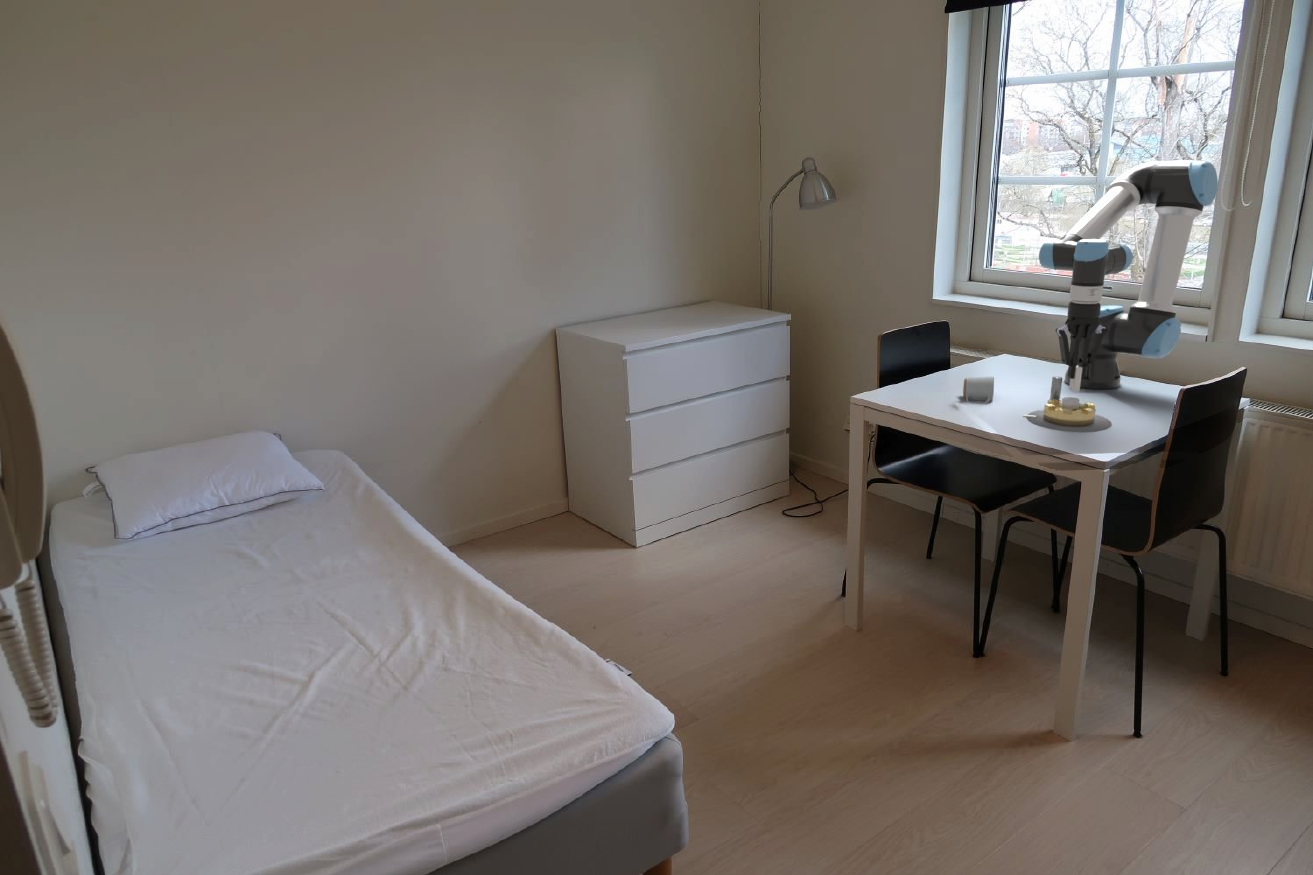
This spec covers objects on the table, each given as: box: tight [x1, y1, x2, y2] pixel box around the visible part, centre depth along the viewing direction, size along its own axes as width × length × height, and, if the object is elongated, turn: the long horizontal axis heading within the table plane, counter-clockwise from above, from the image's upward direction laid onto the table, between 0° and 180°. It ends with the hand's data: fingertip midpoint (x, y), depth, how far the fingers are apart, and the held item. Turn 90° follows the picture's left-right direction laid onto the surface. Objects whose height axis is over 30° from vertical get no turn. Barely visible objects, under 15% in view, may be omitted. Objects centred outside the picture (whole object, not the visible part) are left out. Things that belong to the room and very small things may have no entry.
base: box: [1022, 396, 1113, 433], centre depth 224 cm, size 20×20×7 cm
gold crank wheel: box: [1043, 376, 1097, 426], centre depth 226 cm, size 16×12×9 cm
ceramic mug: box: [962, 376, 995, 405], centre depth 246 cm, size 11×8×8 cm
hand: (1074, 390), depth 232 cm, fingers closed
